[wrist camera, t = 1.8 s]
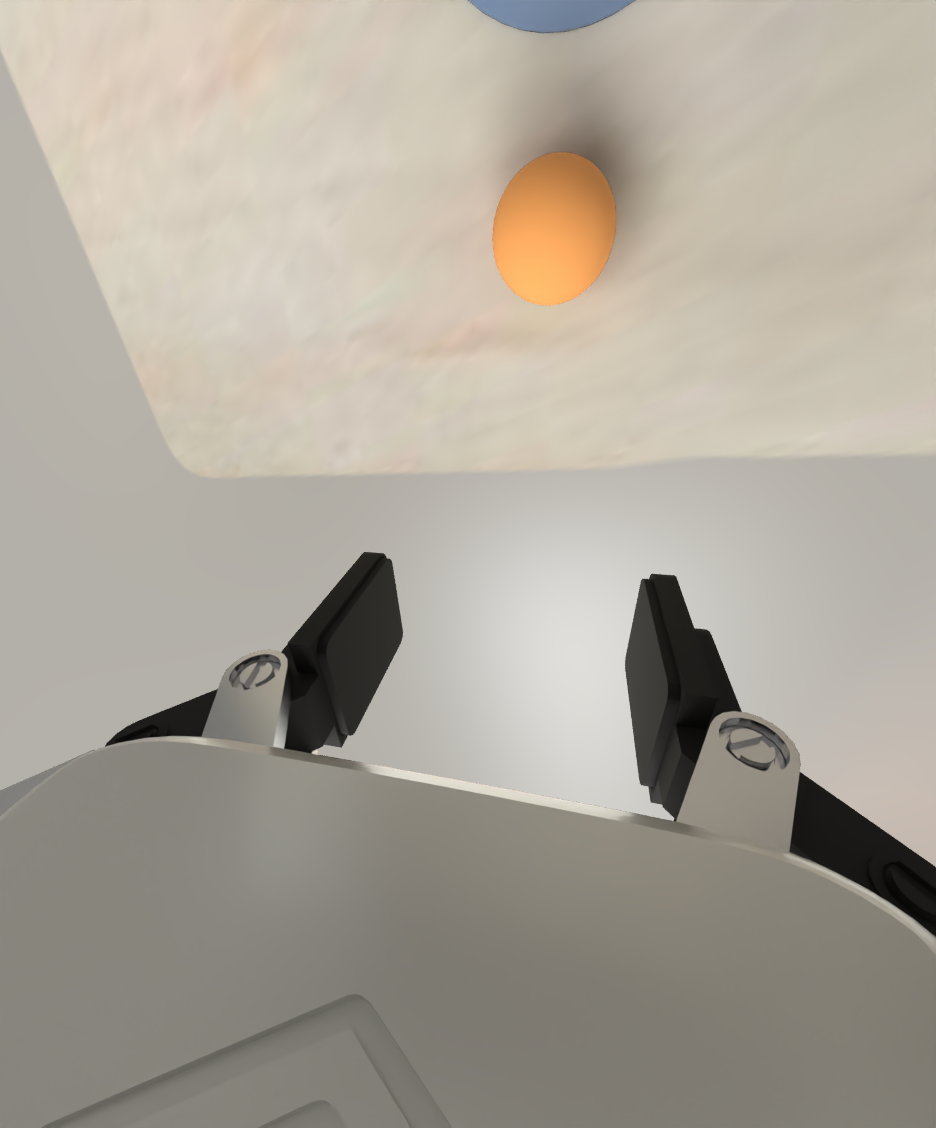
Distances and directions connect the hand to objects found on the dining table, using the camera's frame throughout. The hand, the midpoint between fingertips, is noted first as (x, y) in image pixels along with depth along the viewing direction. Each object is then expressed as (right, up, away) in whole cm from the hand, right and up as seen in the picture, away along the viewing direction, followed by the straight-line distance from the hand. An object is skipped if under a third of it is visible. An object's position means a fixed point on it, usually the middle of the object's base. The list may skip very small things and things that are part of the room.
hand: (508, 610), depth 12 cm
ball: (+2, +15, +6) cm, 16 cm away
